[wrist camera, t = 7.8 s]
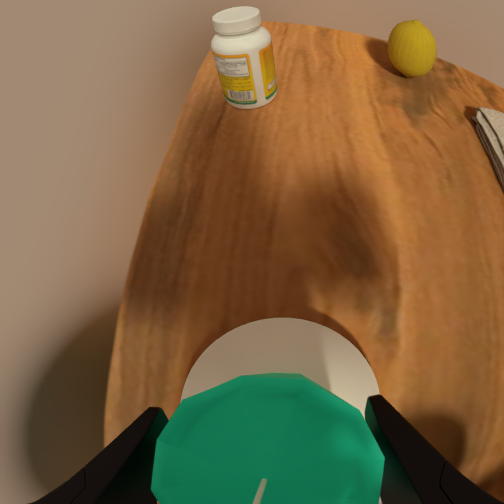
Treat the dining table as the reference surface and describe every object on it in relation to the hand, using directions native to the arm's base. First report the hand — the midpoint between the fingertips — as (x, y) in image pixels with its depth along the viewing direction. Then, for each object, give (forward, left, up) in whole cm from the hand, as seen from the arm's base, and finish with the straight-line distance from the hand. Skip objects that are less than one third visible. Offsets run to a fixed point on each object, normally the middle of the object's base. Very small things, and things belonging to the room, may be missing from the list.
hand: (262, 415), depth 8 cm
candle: (-2, 0, -8) cm, 8 cm away
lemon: (+30, -17, -9) cm, 35 cm away
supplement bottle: (+27, +1, -9) cm, 28 cm away
